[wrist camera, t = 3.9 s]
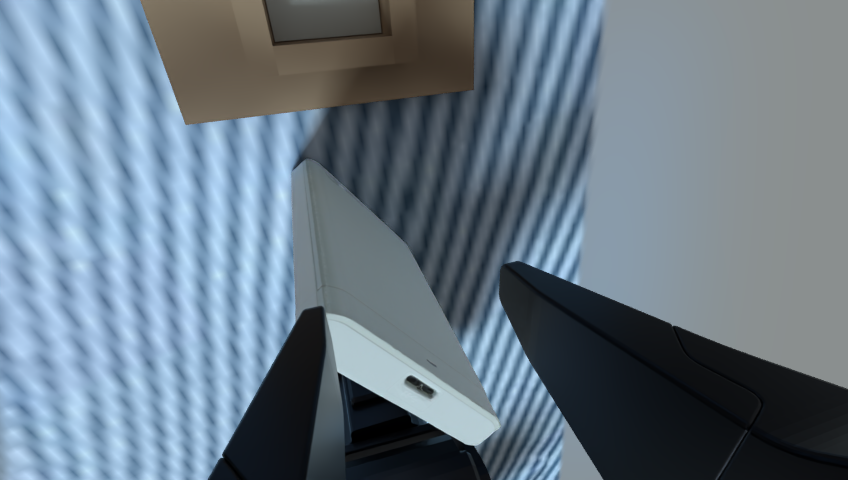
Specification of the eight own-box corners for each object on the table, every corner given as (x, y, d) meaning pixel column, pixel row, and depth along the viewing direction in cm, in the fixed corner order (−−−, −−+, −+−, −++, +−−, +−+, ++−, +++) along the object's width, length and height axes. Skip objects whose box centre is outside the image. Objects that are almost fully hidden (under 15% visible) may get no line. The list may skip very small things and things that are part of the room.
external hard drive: (310, 152, 20) (334, 305, 9) (413, 248, 24) (506, 424, 14) (287, 175, 20) (285, 349, 9) (393, 265, 24) (471, 452, 14)
